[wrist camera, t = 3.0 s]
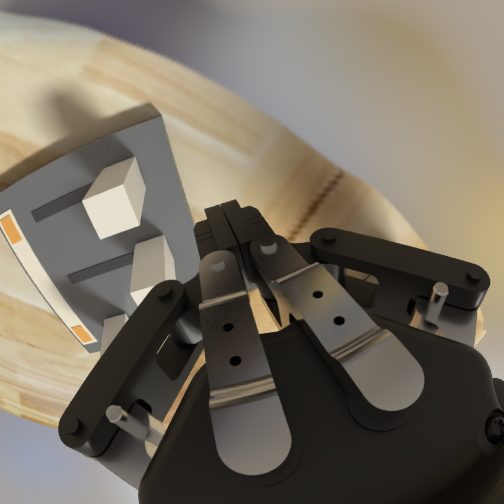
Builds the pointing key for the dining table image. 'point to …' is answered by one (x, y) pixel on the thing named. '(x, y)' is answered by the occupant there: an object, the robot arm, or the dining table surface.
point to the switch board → (84, 234)
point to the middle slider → (150, 267)
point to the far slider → (111, 330)
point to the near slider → (116, 198)
